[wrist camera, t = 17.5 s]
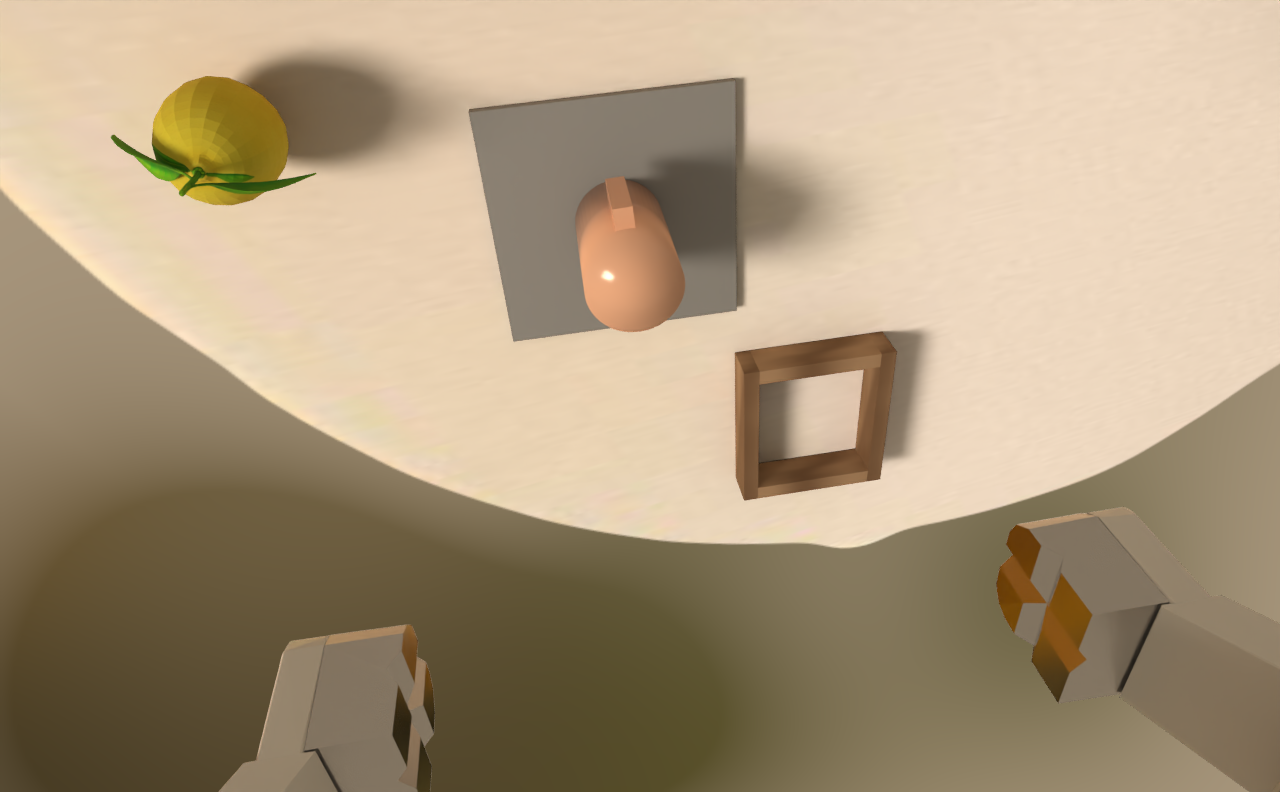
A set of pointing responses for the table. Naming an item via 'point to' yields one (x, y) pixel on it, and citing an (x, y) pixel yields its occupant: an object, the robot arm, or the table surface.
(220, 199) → the lemon
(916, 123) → the table surface
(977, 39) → the table surface
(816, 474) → the brown wooden frame
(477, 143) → the mat
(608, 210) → the capsule with tab
